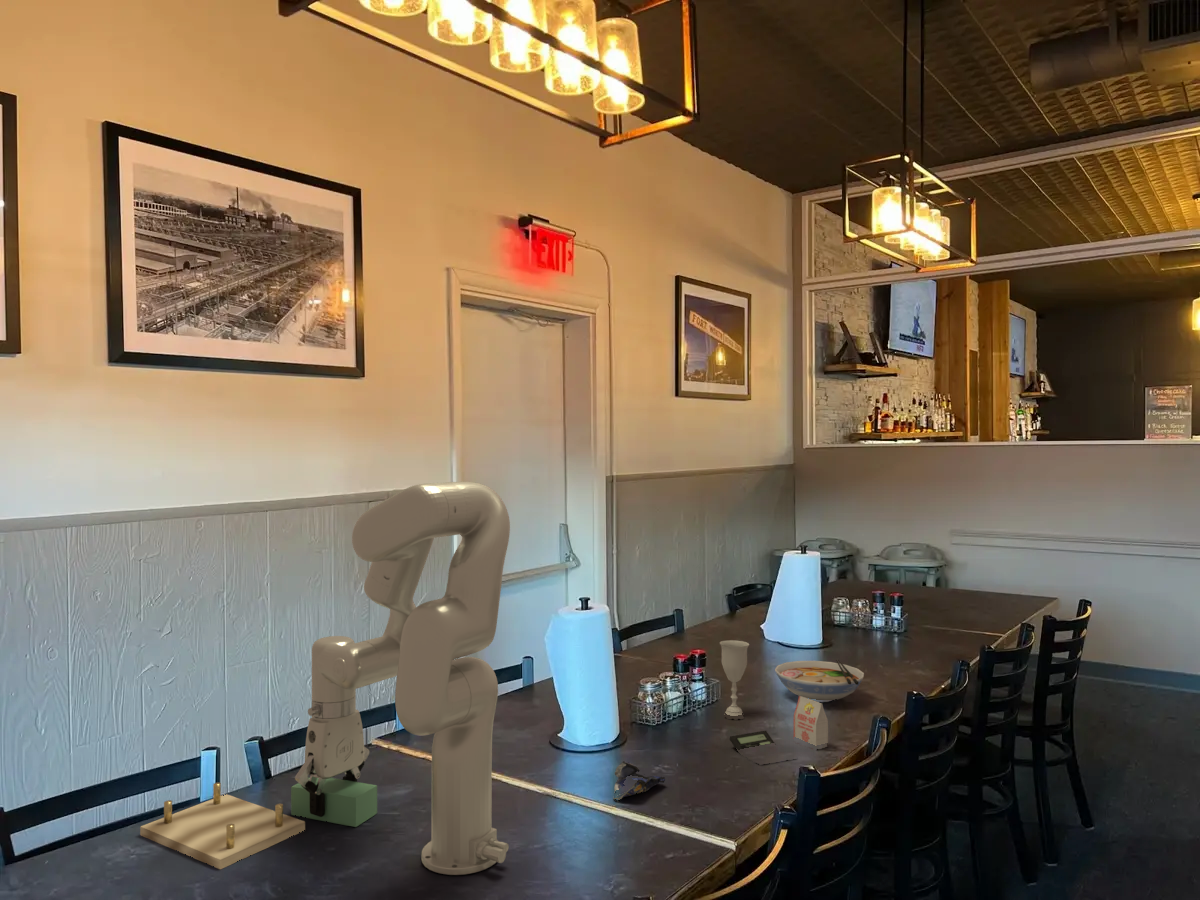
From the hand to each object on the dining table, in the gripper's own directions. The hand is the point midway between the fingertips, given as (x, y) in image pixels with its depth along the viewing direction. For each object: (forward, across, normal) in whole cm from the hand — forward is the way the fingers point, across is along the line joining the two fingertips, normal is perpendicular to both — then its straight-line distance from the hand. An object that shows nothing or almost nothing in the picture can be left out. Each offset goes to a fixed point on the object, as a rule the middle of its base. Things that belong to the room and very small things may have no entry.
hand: (333, 806), depth 152 cm
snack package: (+2, +38, -40) cm, 55 cm away
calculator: (+2, +70, -54) cm, 88 cm away
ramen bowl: (+2, +116, -52) cm, 127 cm away
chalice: (+2, +90, -39) cm, 98 cm away
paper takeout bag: (+2, +81, -61) cm, 101 cm away
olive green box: (+1, 0, 0) cm, 1 cm away
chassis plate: (+1, -15, +10) cm, 18 cm away
